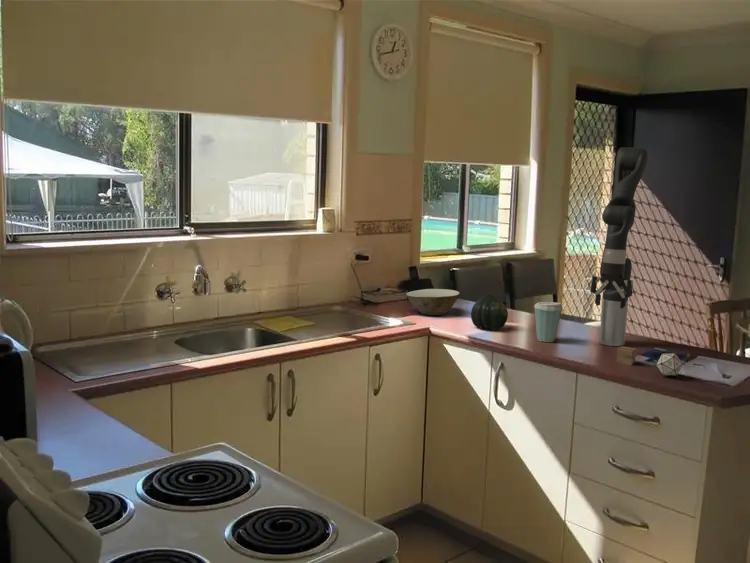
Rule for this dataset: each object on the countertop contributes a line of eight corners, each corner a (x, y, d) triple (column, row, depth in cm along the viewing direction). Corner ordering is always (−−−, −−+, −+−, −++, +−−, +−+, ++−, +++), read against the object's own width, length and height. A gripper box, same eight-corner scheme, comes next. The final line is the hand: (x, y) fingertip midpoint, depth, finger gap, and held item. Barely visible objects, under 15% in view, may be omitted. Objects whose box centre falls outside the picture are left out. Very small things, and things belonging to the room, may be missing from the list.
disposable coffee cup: (526, 339, 287) (528, 301, 284) (543, 335, 293) (545, 298, 291) (549, 345, 279) (551, 306, 276) (566, 341, 285) (568, 303, 283)
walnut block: (620, 360, 260) (621, 346, 259) (635, 362, 257) (636, 348, 256) (616, 363, 256) (617, 349, 255) (631, 365, 253) (632, 351, 252)
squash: (486, 321, 292) (503, 290, 297) (459, 316, 304) (475, 287, 308) (503, 341, 300) (520, 310, 305) (476, 335, 312) (492, 306, 316)
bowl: (396, 310, 338) (397, 288, 336) (442, 306, 348) (442, 285, 346) (421, 320, 317) (422, 297, 315) (468, 316, 327) (469, 294, 325)
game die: (668, 385, 243) (682, 359, 245) (680, 384, 235) (694, 357, 237) (645, 371, 244) (659, 345, 246) (655, 369, 236) (669, 342, 238)
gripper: (637, 263, 263) (632, 308, 264) (597, 259, 270) (593, 303, 272) (631, 264, 256) (626, 310, 258) (590, 260, 264) (586, 305, 266)
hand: (609, 306), depth 265 cm, fingers open, 8 cm apart
